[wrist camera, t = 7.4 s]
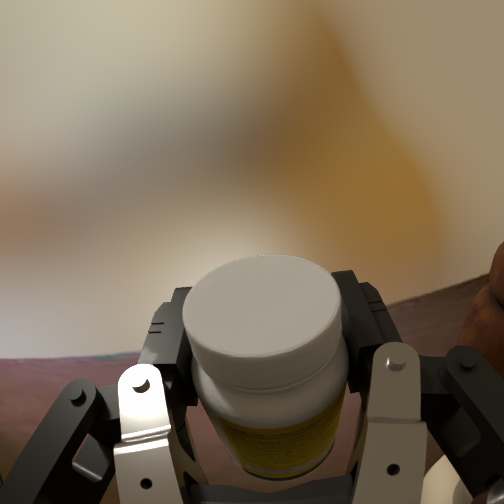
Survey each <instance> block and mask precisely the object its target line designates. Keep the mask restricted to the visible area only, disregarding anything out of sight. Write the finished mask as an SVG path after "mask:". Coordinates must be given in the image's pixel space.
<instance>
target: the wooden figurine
mask: <svg viewBox="0 0 504 504" xmlns="http://www.w3.org/2000/svg"><path fill="white" fill-rule="evenodd" d="M489 281H490V283H488V284H487V285H486V286H484V287H483V288H482V289H481V290H480V291H479V293H478V294H477V296H476V297H475V299H474V301H473V303H472V304H471V306H470V308H469V310H468V313H467V315H466V317H465V319H464V321H463V324H462V327H461V329H460V333H459V336H458V340H457V345H456V346H461V345H465V346H469V347H472V348H474V349H476V350H477V351H478V352H479V353H480V354H481V355H482V356H483V357H484V358H485V359H486V360H487V361H488V362H489V364H490V365H491V366H492V367H493V368H494V369H495V370H496V371H497V372H498V374H499V375H500V376H501V377H502V378H503V377H504V242H503V243H502V244H501V245H500V246H499V247H498V249H497V251H496V253H495V255H494V258H493V262H492V266H491V269H490V273H489Z"/></svg>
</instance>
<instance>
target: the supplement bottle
mask: <svg viewBox="0 0 504 504" xmlns="http://www.w3.org/2000/svg"><path fill="white" fill-rule="evenodd" d="M341 305H342V303H341V294H340V289H339V287H338V285H337V283H336V281H335V280H334V278H333V277H332V276H331V275H330V274H329V273H328V272H327V271H326V270H325V269H323V268H322V267H320V266H318V265H317V264H315V263H313V262H311V261H308V260H305V259H302V258H299V257H294V256H288V255H275V254H274V255H273V254H270V255H257V256H251V257H245V258H241V259H238V260H234V261H231V262H229V263H226V264H224V265H222V266H220V267H218V268H216V269H214V270H212V271H211V272H209V273H208V274H206V275H205V276H204V277H202V278H201V279H200V280H199V281H198V282H197V283H196V284H195V285H194V286H193V287H192V289H191V290H190V291H189V293H188V295H187V296H186V299H185V302H184V305H183V312H182V316H183V323H184V327H185V330H186V333H187V336H188V339H189V342H190V345H191V349H192V352H193V356H192V361H191V374H192V380H193V384H194V387H195V390H196V392H197V395H198V397H199V399H200V401H201V403H202V405H203V407H204V409H205V411H206V413H207V415H208V416H209V418H210V420H211V422H212V424H213V426H214V428H215V430H216V432H217V434H218V436H219V437H220V439H221V441H222V443H223V445H224V446H225V448H226V450H227V452H228V454H229V455H230V457H231V459H232V460H233V462H234V463H235V464H236V465H237V467H238V468H240V469H241V470H242V471H243V472H244V473H246V474H248V475H249V476H251V477H253V478H256V479H258V480H261V481H265V482H270V483H286V482H292V481H295V480H299V479H301V478H304V477H306V476H307V475H309V474H311V473H312V472H314V471H315V470H316V469H318V468H319V467H320V466H321V465H322V464H323V463H324V461H325V460H326V459H327V457H328V456H329V454H330V452H331V450H332V448H333V445H334V441H335V437H336V431H337V427H338V423H339V418H340V414H341V409H342V405H343V400H344V395H345V389H346V384H347V378H348V373H349V354H348V349H347V345H346V342H345V340H344V338H343V336H342V334H341V331H342V322H341Z"/></svg>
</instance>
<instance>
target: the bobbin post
mask: <svg viewBox="0 0 504 504" xmlns="http://www.w3.org/2000/svg"><path fill="white" fill-rule="evenodd" d="M472 500H473V498H472V496H471V495H470V493H469V491H468V490H467V488H466V487H465V485H464V483H463V482H462V480H461V479H460V477H459V475H458V474H457V472H456V471H455V469H454V468H453V466H452V465H451V463H450V462H449V460H448V458H447V457H446V455H444V456H443V457H442V458H441V459H440V460H439V461H438V462H436V463H435V464H434V465H433V466H432V467H431V469H430V470H429V471H428V472H427V473H426V475H425V476H424V480H423V489H422V496H421V503H420V504H471V502H472Z"/></svg>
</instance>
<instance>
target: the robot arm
mask: <svg viewBox="0 0 504 504" xmlns="http://www.w3.org/2000/svg"><path fill="white" fill-rule="evenodd" d="M331 276H332V277H333V278H334V280H335V281H336V283H337V285H338V287H339V289H340V294H341V303H342V305H341V322H342V331H341V334H342V336H343V338H344V340H345V342H346V345H347V349H348V354H349V373H348V378H347V382H348V386H349V390H350V393H355V392H360V396H361V400H362V401H361V405H360V409H359V416H358V422H357V427H356V433H355V438H354V443H353V448H352V453H351V457H350V461H349V464H348V467H347V471H346V475H345V476H339V477H334V478H327V479H321V480H313V481H309V482H307V483H304V484H301V485H298V486H295V487H292V488H288V489H285V490H282V491H279V492H275V493H262V492H257V491H252V490H247V489H242V488H237V487H233V486H229V485H209V483H208V480H207V478H206V476H205V474H204V472H203V470H202V468H201V466H200V463H199V460H198V456H197V453H196V449H195V446H194V442H193V439H192V435H191V431H190V427H189V424H188V420H187V418H186V410H187V406H197V404H198V395H197V392H196V390H195V387H194V384H193V380H192V374H191V361H192V356H193V352H192V349H191V345H190V342H189V339H188V336H187V333H186V330H185V327H184V323H183V316H182V312H183V305H184V302H185V299H186V296H187V295H188V293H189V291H190V290H191V289H192V287H182V288H176V289H175V290H174V293H173V297H172V300H171V302H166V303H163V304H162V305H161V306H160V307H159V308H158V310H157V311H156V312H155V314H154V317H153V319H152V322H151V324H152V325H150V328H149V331H148V332H149V333H148V334H147V337H146V340H145V343H144V346H143V349H142V352H141V355H140V358H139V361H138V364H137V366H134V367H132V368H130V369H129V370H127V371H126V372H125V373H124V374H123V375H122V377H121V378H120V380H119V383H116V384H112V385H108V386H104V387H99V388H96V387H95V385H94V384H93V383H92V382H91V381H90V380H88V379H76V380H74V381H72V382H70V383H69V384H68V385H67V386H66V387H65V388H64V389H63V390H62V392H61V393H60V395H59V396H58V398H57V399H56V401H55V402H54V403H53V405H52V406H51V408H50V409H49V411H48V412H47V414H46V415H45V417H44V418H43V420H42V421H41V423H40V424H39V426H38V427H37V429H36V430H35V432H34V434H33V435H32V437H31V438H30V440H29V441H28V443H27V445H26V446H25V448H24V449H23V451H22V453H21V454H20V456H19V457H18V459H17V461H16V462H15V464H14V466H13V467H12V469H11V471H10V473H9V474H8V476H7V478H6V479H5V481H4V483H3V485H2V482H1V478H0V504H99V503H100V501H101V499H102V497H103V495H104V493H105V491H106V489H107V487H108V485H109V483H110V481H111V480H112V478H113V476H114V474H115V472H116V476H117V484H118V491H119V497H120V503H121V504H420V503H421V496H422V489H423V480H424V471H425V459H426V444H427V428H428V430H429V431H430V433H431V434H432V436H433V437H434V439H435V440H436V442H437V443H438V445H439V446H440V448H441V449H442V451H443V452H444V454H445V455H446V457H447V458H448V460H449V462H450V463H451V465H452V466H453V468H454V469H455V471H456V472H457V474H458V475H459V477H460V479H461V480H462V482H463V483H464V485H465V487H466V488H467V490H468V491H469V493H470V495H471V496H472V498H473V500H472V502H471V504H504V379H503V378H502V377H501V376H500V375H499V374H498V372H497V371H496V370H495V369H494V368H493V367H492V366H491V365H490V364H489V362H488V361H487V360H486V359H485V358H484V357H483V356H482V355H481V354H480V353H479V352H478V351H477V350H476V349H474V348H472V347H469V346H465V345H461V346H456V347H454V348H452V349H451V350H449V352H448V353H447V355H446V357H427V356H421V355H418V354H417V352H416V351H415V350H414V349H413V348H412V347H411V346H409V345H407V344H405V343H403V342H402V340H401V338H400V336H399V334H398V332H397V329H396V327H395V325H394V323H393V321H392V319H391V317H390V315H389V313H388V311H387V308H386V306H385V304H384V303H383V301H382V299H381V296H380V294H379V292H378V291H377V289H375V288H374V287H373V286H372V285H370V284H369V283H368V282H364V283H358V281H357V279H356V276H355V274H354V272H353V271H352V270H347V271H339V272H332V273H331ZM87 433H88V434H89V436H88V438H87V440H86V442H85V443H84V445H83V447H82V448H81V450H80V452H79V454H78V455H77V457H76V459H75V460H74V462H73V463H72V459H73V457H74V455H75V453H76V452H77V450H78V448H79V447H80V445H81V443H82V441H83V440H84V438H85V436H86V435H87Z"/></svg>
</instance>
